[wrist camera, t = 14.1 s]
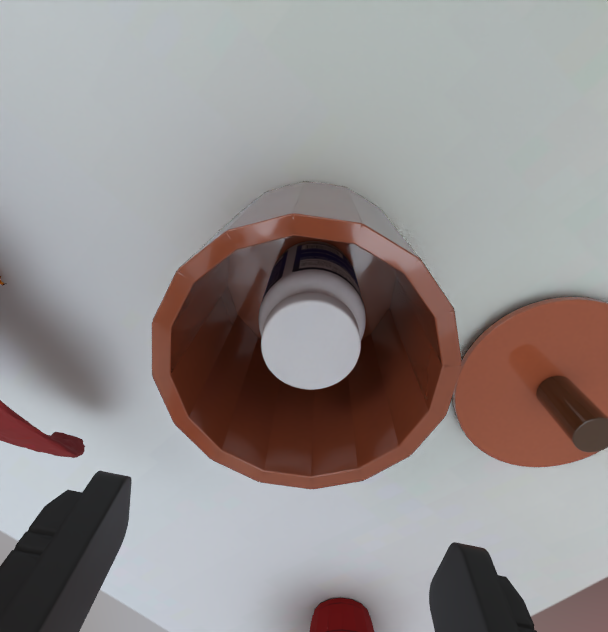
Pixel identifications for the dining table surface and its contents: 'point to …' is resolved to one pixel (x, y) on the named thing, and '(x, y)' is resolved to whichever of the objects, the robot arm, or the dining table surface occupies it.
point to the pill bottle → (312, 317)
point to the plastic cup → (341, 617)
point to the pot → (280, 398)
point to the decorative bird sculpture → (36, 435)
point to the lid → (538, 384)
